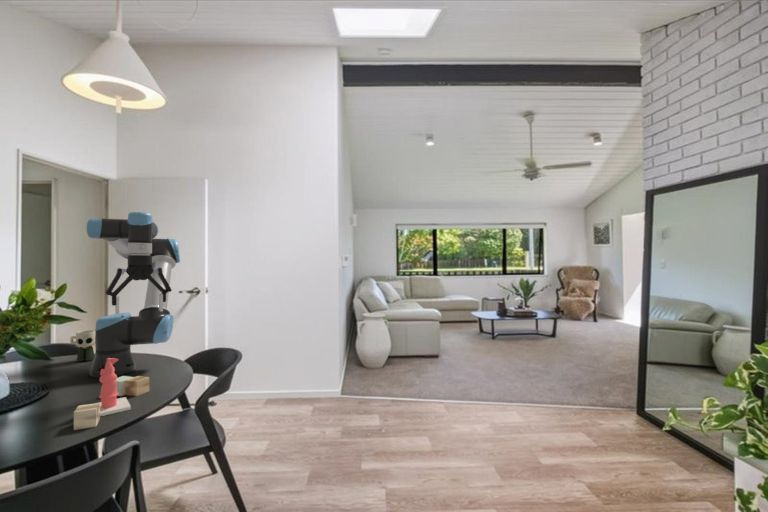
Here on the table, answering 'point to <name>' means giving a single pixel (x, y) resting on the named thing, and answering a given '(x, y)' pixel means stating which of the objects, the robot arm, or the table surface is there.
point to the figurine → (108, 385)
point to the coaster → (116, 407)
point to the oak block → (136, 385)
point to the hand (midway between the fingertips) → (139, 312)
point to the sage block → (121, 384)
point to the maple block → (86, 416)
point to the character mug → (84, 344)
